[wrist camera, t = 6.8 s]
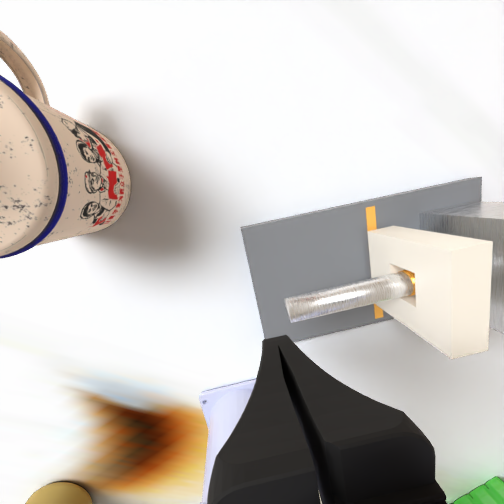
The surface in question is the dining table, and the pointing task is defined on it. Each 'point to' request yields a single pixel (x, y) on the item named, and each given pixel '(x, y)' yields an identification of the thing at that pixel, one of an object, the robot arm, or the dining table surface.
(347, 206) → the base plate
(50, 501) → the paper tube
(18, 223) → the teacup with lid
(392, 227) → the collar
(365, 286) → the pipe stand
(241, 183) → the dining table surface
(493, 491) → the fruit basket
